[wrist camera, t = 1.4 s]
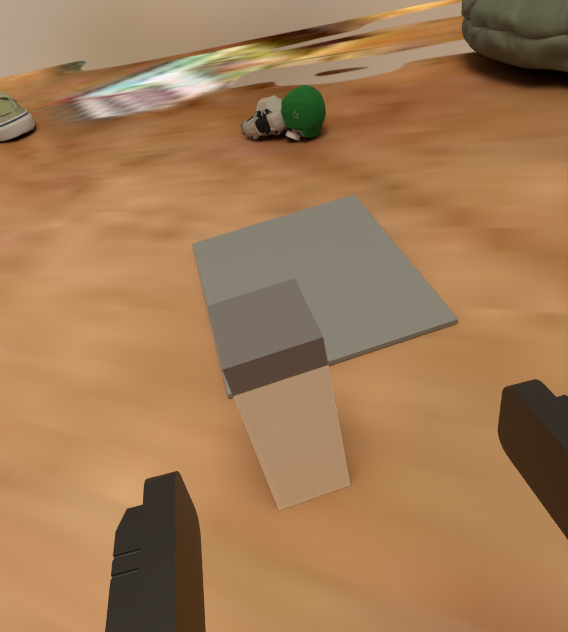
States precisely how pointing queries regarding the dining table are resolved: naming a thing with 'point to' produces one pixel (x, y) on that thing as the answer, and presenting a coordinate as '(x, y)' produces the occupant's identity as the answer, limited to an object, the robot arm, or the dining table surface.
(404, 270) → the slate mat
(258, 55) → the dining table surface
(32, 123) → the boat shoe
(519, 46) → the pillow
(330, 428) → the cream block
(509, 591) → the dining table surface
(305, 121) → the toy
